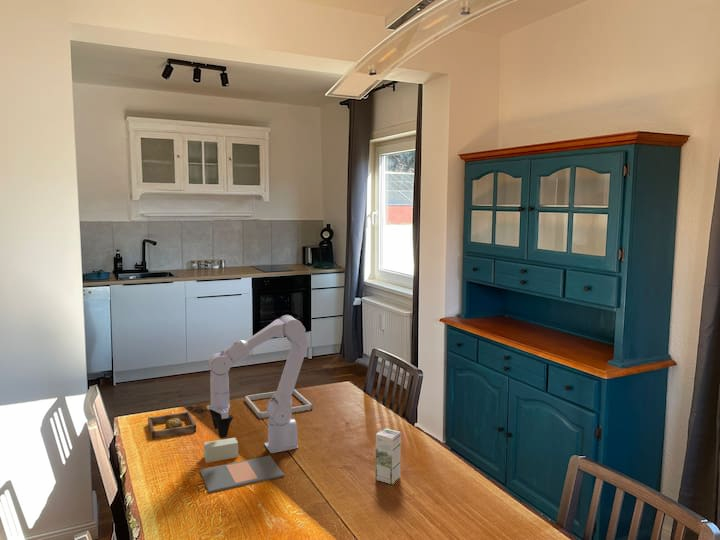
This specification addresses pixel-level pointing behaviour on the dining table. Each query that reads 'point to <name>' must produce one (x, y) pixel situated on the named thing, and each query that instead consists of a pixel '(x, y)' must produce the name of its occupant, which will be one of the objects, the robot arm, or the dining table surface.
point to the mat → (240, 473)
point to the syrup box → (388, 455)
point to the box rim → (267, 395)
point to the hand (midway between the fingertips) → (220, 432)
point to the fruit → (174, 423)
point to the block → (220, 450)
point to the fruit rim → (172, 431)
